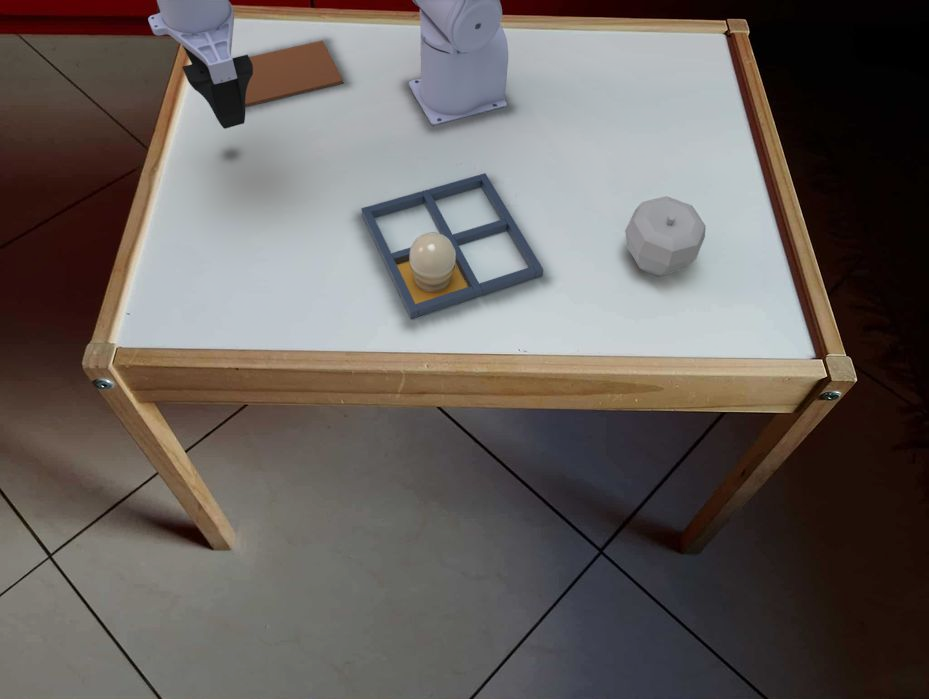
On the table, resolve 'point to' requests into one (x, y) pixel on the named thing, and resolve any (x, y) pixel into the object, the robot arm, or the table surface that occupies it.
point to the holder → (457, 288)
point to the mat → (291, 73)
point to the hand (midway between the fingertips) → (221, 98)
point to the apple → (664, 235)
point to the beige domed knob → (432, 262)
